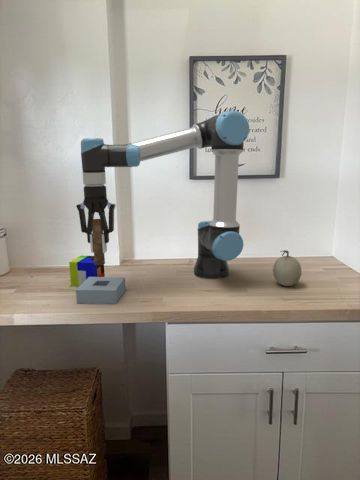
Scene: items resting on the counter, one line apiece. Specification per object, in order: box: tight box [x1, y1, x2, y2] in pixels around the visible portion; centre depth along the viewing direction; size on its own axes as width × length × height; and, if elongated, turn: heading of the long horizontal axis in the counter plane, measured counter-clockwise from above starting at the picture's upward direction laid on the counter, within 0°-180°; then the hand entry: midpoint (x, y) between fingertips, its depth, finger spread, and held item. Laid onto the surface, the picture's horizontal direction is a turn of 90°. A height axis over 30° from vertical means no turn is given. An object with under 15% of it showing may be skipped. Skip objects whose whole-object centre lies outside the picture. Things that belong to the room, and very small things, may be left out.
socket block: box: [75, 276, 126, 305], centre depth 128 cm, size 14×14×5 cm
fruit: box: [272, 249, 302, 287], centre depth 136 cm, size 10×12×15 cm
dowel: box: [92, 218, 106, 265], centre depth 124 cm, size 4×4×16 cm
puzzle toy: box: [68, 254, 106, 287], centre depth 142 cm, size 10×10×10 cm
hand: (99, 251), depth 125 cm, fingers closed on dowel, 3 cm apart
